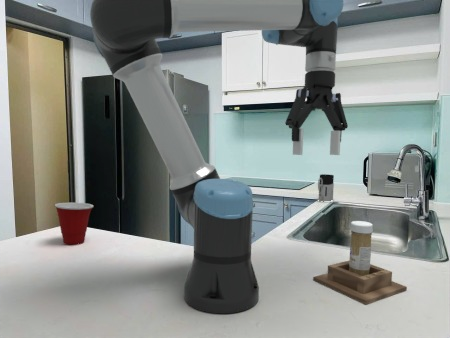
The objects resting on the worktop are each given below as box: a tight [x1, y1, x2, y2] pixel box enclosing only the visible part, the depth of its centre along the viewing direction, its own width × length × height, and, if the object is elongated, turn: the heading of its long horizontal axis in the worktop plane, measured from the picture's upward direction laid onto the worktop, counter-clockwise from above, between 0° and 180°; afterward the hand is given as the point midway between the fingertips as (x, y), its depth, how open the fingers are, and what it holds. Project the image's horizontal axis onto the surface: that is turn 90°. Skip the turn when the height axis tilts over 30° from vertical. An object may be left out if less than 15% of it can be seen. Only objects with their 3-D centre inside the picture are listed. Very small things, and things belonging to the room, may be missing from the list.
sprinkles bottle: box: [348, 220, 374, 276], centre depth 77 cm, size 5×5×13 cm
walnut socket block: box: [312, 260, 408, 306], centre depth 78 cm, size 14×14×4 cm
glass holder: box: [317, 173, 335, 201], centre depth 193 cm, size 9×14×15 cm, turn 139°
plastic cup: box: [54, 202, 94, 246], centre depth 106 cm, size 11×11×12 cm
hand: (316, 154), depth 91 cm, fingers open, 13 cm apart
